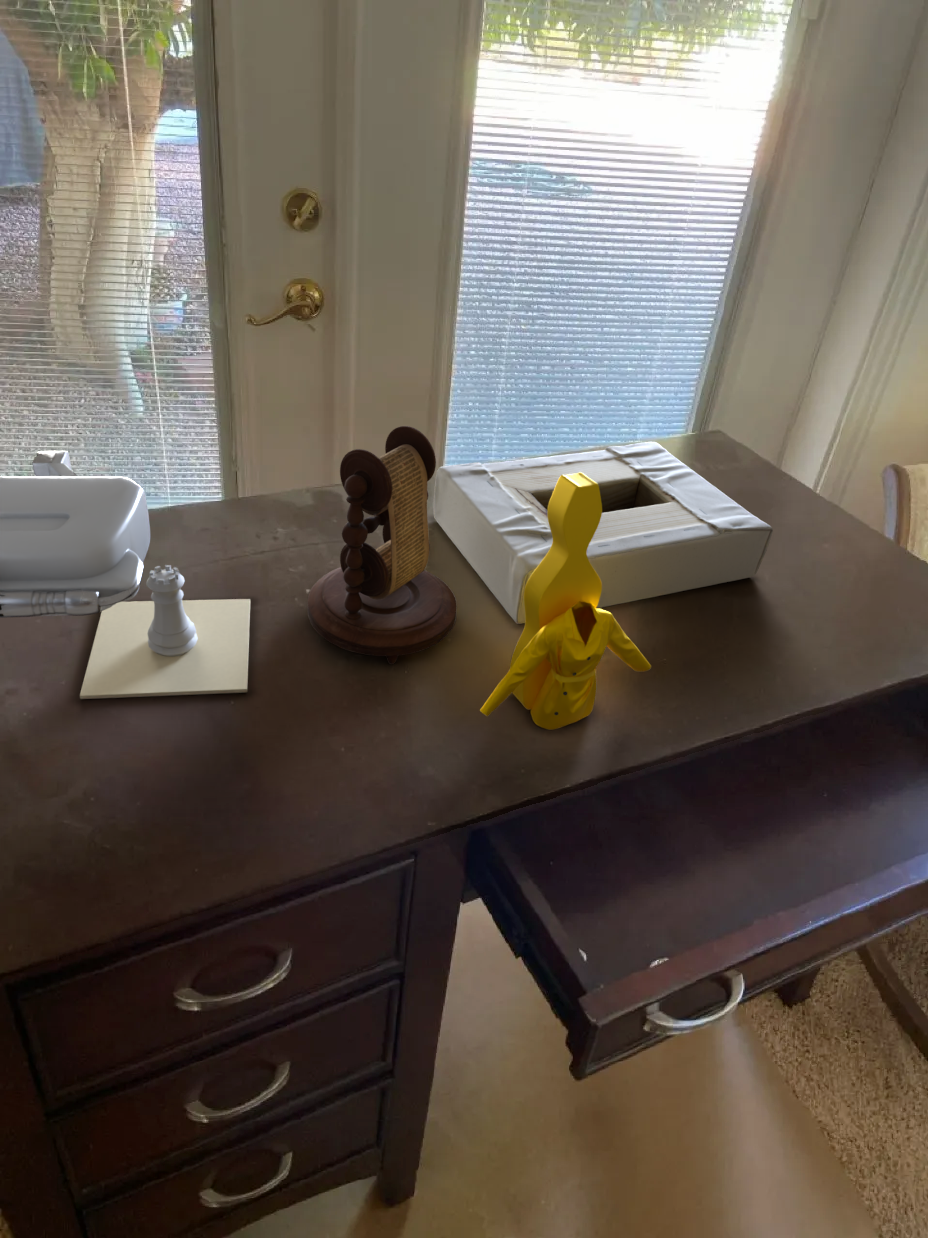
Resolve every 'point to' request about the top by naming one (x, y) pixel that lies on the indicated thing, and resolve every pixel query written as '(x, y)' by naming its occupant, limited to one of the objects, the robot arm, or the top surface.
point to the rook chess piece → (169, 614)
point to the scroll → (385, 557)
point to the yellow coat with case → (564, 618)
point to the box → (600, 523)
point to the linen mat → (139, 671)
